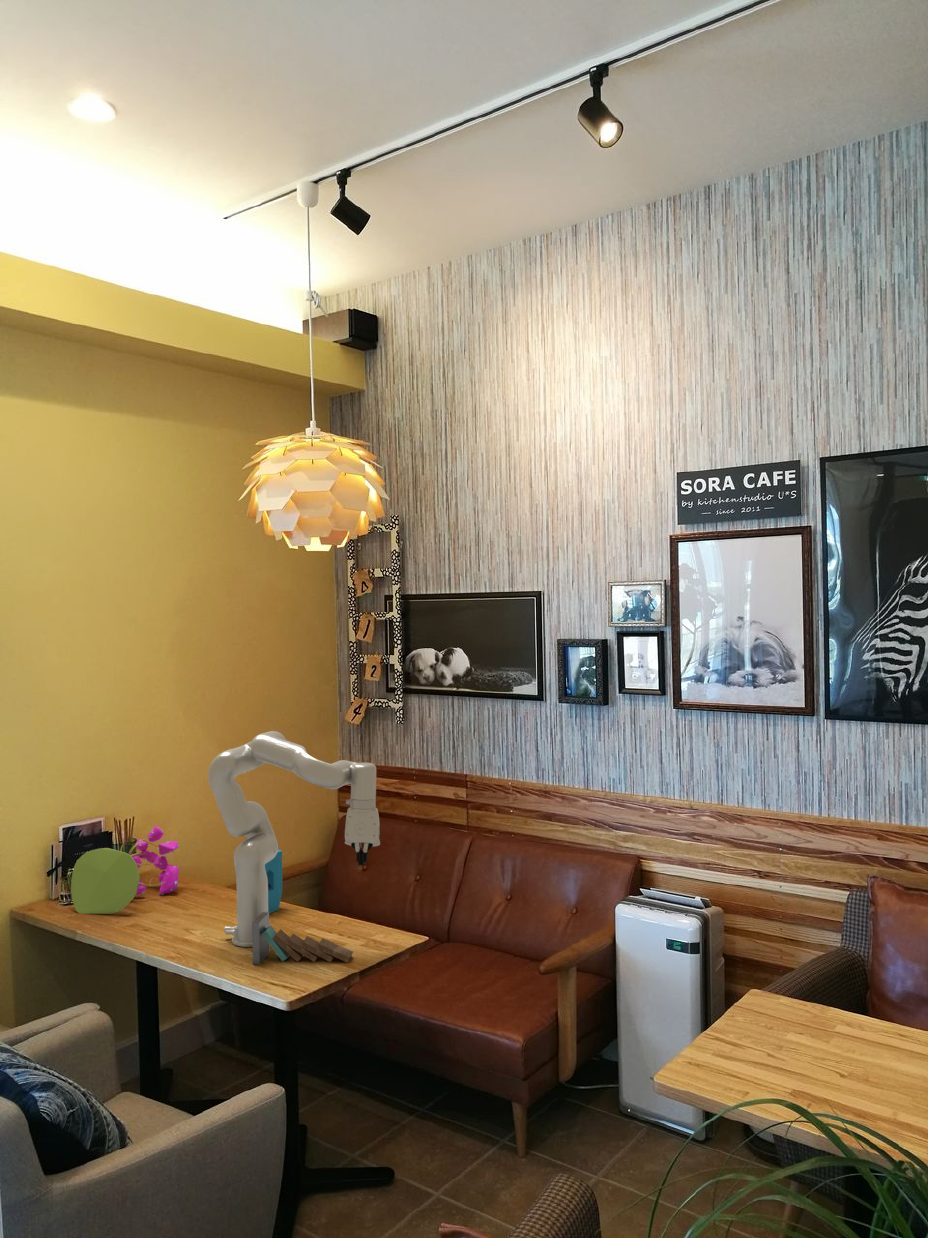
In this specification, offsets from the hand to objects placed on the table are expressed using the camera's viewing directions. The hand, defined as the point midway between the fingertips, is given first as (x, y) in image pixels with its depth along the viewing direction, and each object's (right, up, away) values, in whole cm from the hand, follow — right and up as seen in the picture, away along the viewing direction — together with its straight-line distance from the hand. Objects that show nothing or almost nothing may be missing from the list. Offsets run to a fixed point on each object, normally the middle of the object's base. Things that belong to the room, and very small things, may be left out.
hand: (361, 864), depth 289 cm
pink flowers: (-89, -27, +54) cm, 108 cm away
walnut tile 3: (-12, -25, -10) cm, 29 cm away
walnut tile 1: (-2, -24, -11) cm, 27 cm away
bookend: (-29, -26, -8) cm, 39 cm away
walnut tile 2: (-7, -25, -10) cm, 27 cm away
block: (-37, -26, +38) cm, 59 cm away
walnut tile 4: (-17, -25, -9) cm, 31 cm away
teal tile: (-21, -25, -9) cm, 34 cm away
